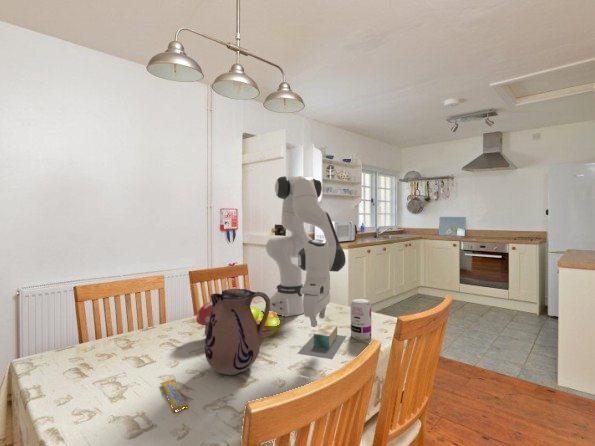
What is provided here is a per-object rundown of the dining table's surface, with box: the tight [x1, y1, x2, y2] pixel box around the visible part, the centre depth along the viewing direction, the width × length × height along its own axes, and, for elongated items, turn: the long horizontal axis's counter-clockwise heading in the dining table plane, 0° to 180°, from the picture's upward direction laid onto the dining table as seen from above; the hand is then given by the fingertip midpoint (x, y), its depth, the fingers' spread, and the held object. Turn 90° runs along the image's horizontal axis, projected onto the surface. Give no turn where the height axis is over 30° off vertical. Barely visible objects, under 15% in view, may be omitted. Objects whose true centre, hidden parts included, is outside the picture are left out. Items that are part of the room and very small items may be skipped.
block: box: [313, 323, 338, 348], centre depth 126 cm, size 6×4×12 cm
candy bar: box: [160, 378, 189, 412], centre depth 89 cm, size 17×4×2 cm, turn 33°
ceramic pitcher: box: [204, 288, 270, 376], centre depth 105 cm, size 18×21×25 cm
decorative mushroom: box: [195, 301, 212, 336], centre depth 131 cm, size 13×13×15 cm
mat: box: [296, 334, 347, 360], centre depth 123 cm, size 13×22×1 cm, turn 158°
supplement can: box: [350, 298, 372, 341], centre depth 130 cm, size 8×8×15 cm
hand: (318, 321), depth 117 cm, fingers open, 8 cm apart
